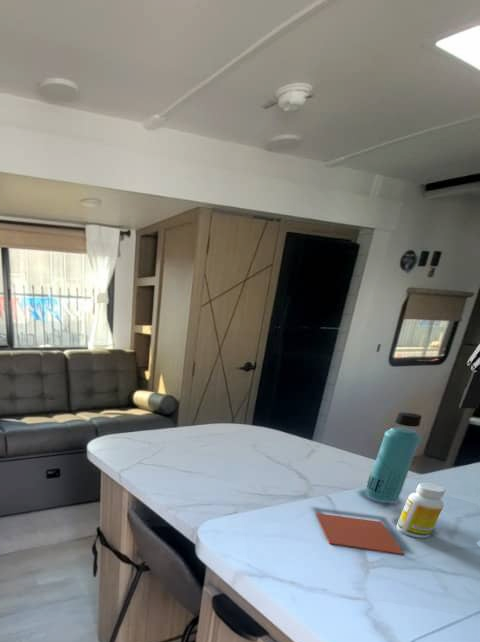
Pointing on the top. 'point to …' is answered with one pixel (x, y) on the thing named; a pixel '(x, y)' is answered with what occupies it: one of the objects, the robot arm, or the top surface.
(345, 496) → the top surface
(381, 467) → the beverage bottle
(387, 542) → the cloth
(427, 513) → the supplement bottle
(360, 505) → the top surface
